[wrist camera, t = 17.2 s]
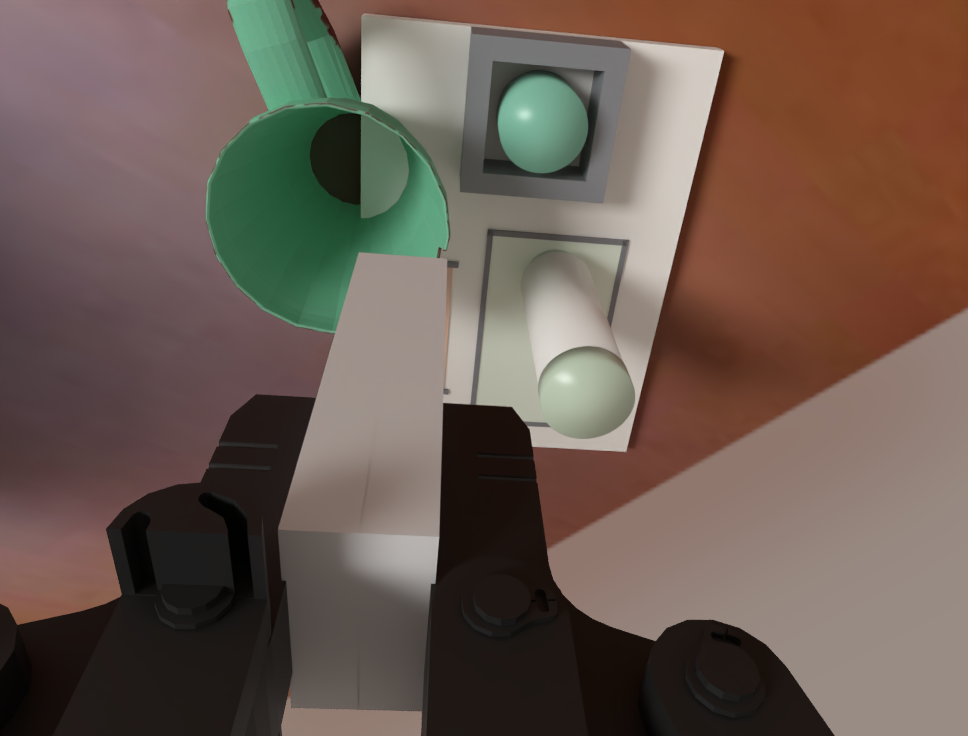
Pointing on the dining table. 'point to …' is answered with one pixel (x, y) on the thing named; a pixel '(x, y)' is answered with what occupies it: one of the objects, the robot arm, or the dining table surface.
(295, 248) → the mug
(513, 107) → the button
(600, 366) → the marker
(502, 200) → the board
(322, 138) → the dining table surface
